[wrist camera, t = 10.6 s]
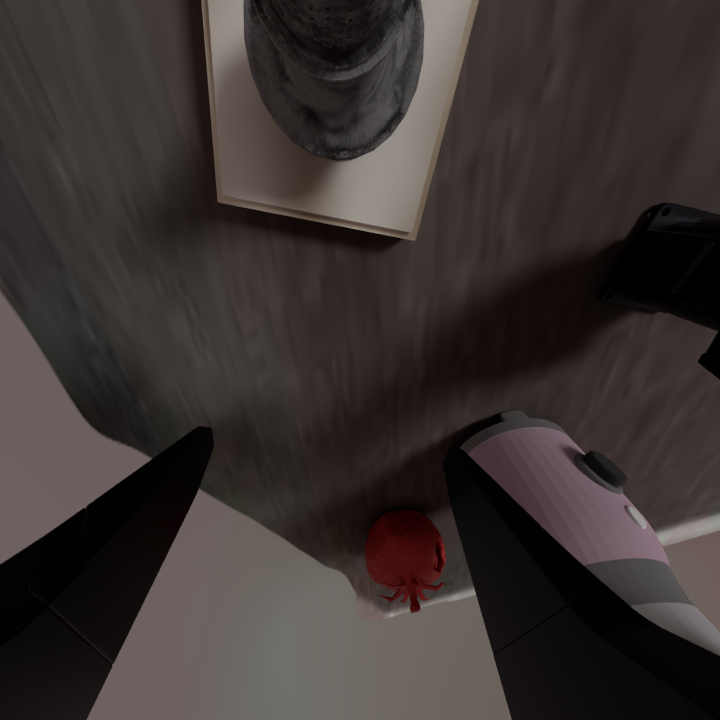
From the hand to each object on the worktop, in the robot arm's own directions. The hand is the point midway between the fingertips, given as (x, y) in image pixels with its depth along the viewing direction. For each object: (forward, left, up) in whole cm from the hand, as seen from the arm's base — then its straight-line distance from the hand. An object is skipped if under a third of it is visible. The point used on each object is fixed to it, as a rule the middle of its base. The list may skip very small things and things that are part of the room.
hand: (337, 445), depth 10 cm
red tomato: (-12, +28, -12) cm, 33 cm away
